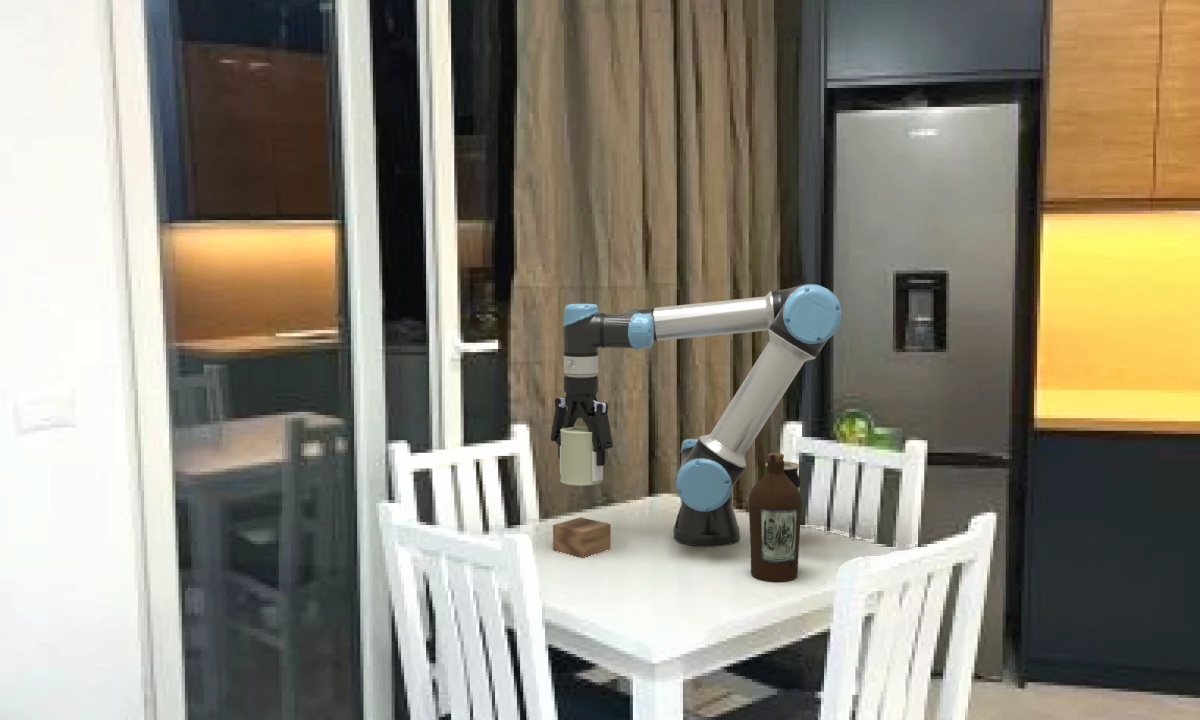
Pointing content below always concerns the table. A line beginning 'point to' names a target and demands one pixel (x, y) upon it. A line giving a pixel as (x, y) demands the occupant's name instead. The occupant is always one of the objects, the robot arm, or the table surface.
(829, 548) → the table surface
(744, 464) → the robot arm
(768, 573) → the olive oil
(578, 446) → the can
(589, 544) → the walnut block
